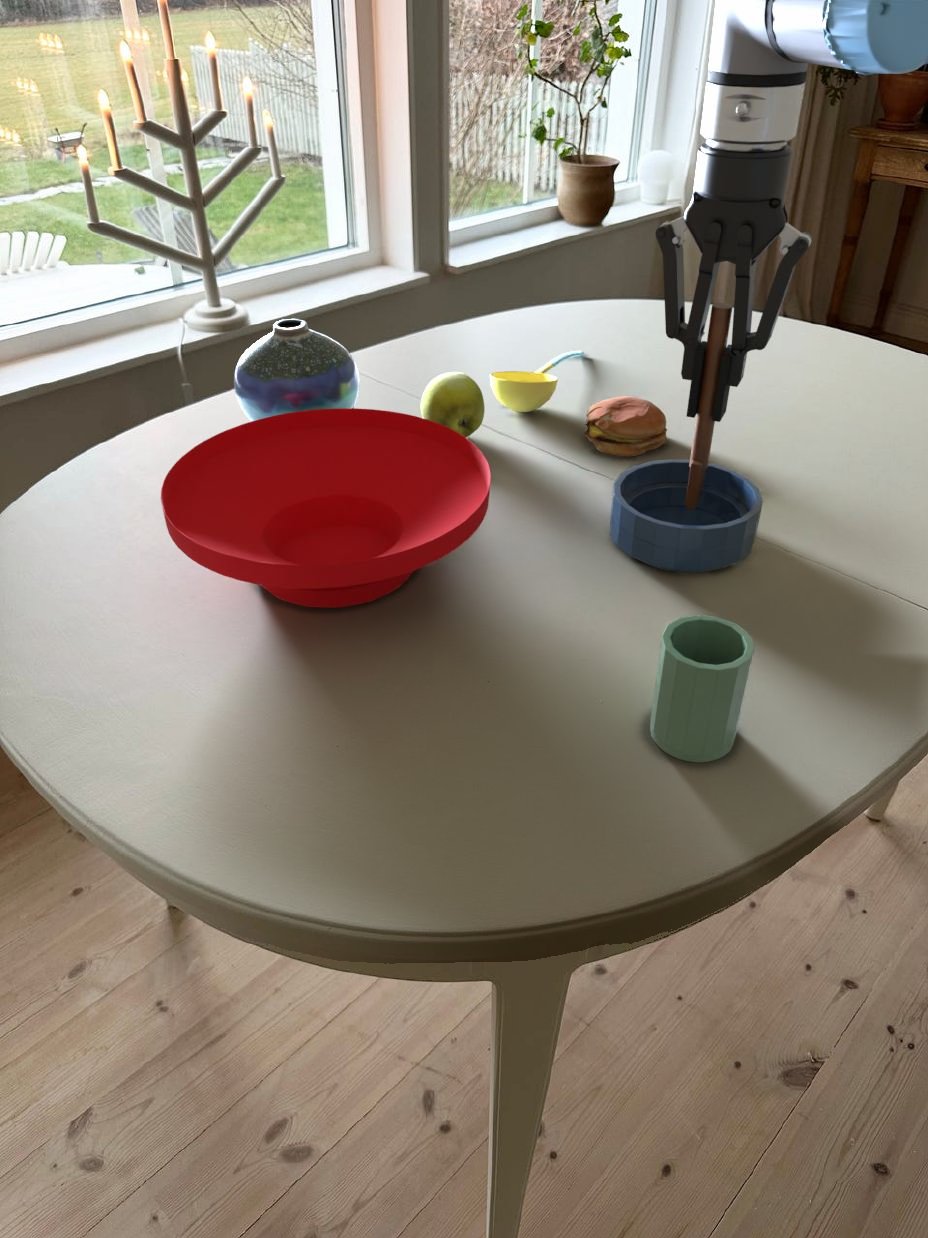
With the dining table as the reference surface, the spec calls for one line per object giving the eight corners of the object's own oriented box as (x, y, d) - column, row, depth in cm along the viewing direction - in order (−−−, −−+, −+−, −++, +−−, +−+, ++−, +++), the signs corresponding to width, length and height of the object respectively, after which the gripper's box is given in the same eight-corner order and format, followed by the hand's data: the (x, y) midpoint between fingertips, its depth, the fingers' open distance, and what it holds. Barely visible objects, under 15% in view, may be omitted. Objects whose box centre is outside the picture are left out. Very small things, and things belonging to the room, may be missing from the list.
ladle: (476, 412, 119) (479, 366, 117) (549, 385, 141) (553, 346, 139) (540, 421, 116) (543, 374, 113) (605, 392, 138) (609, 352, 135)
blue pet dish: (764, 521, 97) (774, 474, 94) (736, 591, 87) (746, 541, 84) (632, 495, 102) (637, 449, 99) (590, 559, 92) (594, 510, 89)
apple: (471, 418, 120) (471, 358, 115) (494, 447, 113) (495, 384, 108) (413, 426, 118) (410, 366, 113) (433, 456, 111) (431, 393, 106)
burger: (675, 434, 115) (679, 398, 112) (648, 464, 108) (652, 428, 106) (601, 419, 119) (604, 384, 116) (571, 448, 112) (573, 412, 110)
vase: (222, 423, 120) (203, 320, 112) (325, 394, 127) (314, 296, 119) (277, 465, 110) (261, 356, 102) (386, 431, 117) (378, 326, 109)
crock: (742, 718, 73) (762, 627, 67) (724, 773, 68) (744, 679, 63) (662, 696, 75) (675, 606, 70) (639, 748, 70) (652, 655, 65)
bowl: (164, 521, 99) (144, 435, 93) (431, 471, 108) (427, 389, 102) (206, 693, 76) (183, 593, 70) (540, 612, 85) (544, 517, 79)
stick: (705, 496, 95) (736, 301, 84) (698, 510, 93) (728, 311, 81) (688, 493, 96) (716, 299, 84) (680, 507, 94) (708, 309, 82)
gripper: (644, 144, 75) (620, 416, 89) (835, 155, 70) (778, 442, 84) (668, 130, 80) (642, 388, 94) (847, 139, 75) (791, 411, 89)
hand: (706, 413), depth 89 cm, fingers closed on stick, 2 cm apart
